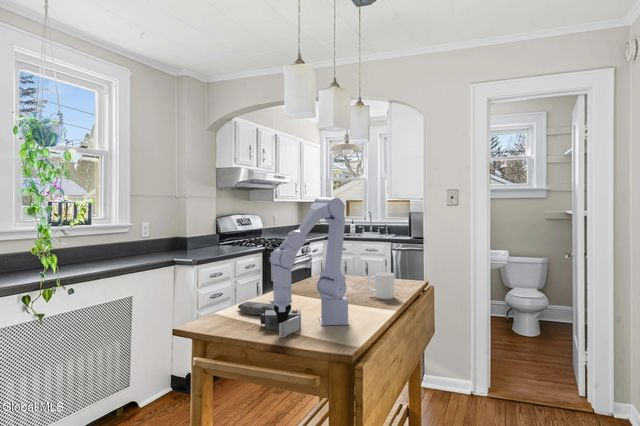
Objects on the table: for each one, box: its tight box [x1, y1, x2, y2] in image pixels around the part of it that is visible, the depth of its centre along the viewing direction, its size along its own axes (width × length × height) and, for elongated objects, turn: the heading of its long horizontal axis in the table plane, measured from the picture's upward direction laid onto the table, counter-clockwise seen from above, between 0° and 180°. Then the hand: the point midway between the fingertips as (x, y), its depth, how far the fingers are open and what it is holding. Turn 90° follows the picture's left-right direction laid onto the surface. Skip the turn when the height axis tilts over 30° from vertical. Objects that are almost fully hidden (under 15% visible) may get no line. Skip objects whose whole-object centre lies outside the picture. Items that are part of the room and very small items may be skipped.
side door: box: [278, 314, 302, 339], centre depth 140 cm, size 11×1×5 cm, turn 147°
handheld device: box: [237, 301, 275, 316], centre depth 165 cm, size 10×20×5 cm, turn 63°
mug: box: [366, 271, 395, 300], centre depth 190 cm, size 12×8×10 cm
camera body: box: [260, 309, 302, 331], centre depth 148 cm, size 14×6×6 cm, turn 94°
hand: (282, 327), depth 140 cm, fingers closed, pressing on side door
